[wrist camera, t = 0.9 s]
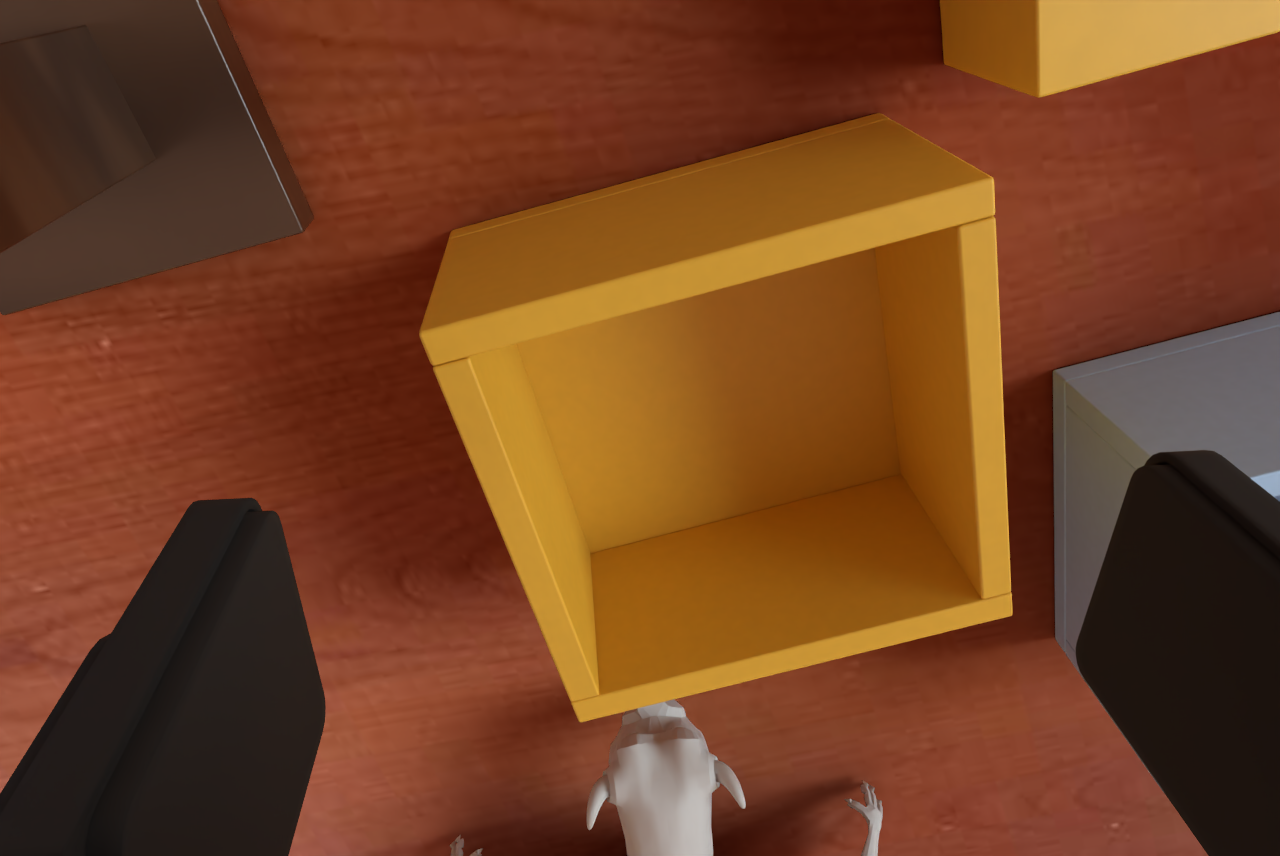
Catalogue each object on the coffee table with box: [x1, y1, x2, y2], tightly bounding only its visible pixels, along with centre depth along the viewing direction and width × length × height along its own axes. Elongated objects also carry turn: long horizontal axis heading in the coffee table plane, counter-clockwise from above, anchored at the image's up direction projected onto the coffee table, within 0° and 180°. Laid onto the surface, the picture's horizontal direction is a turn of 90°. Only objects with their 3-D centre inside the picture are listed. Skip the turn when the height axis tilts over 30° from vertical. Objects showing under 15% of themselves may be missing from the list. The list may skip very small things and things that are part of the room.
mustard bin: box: [419, 113, 1013, 722], centre depth 23 cm, size 12×12×7 cm
